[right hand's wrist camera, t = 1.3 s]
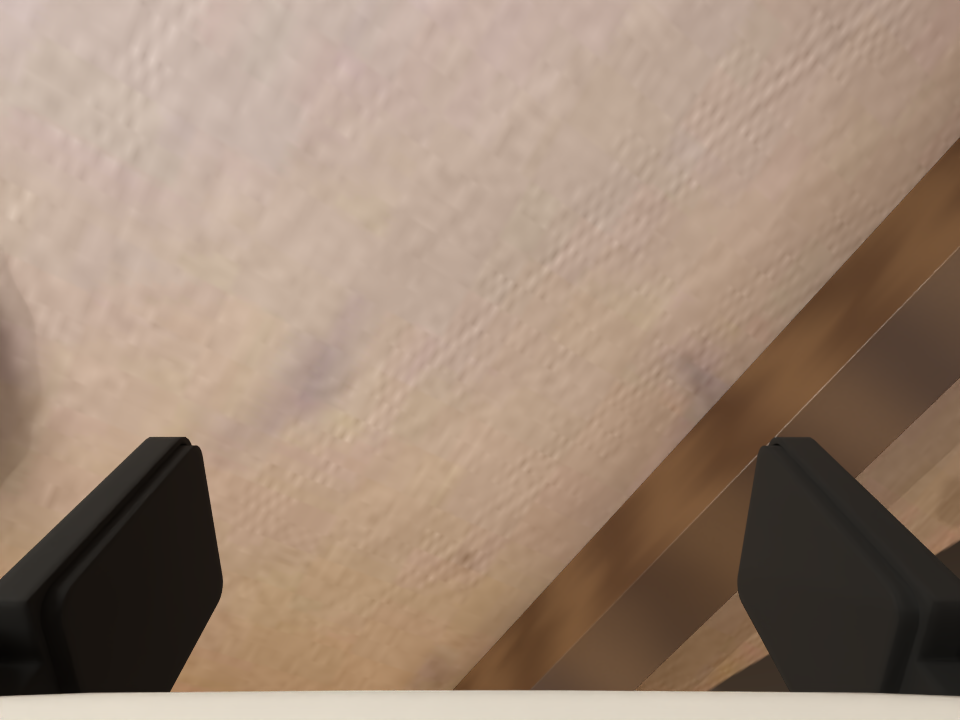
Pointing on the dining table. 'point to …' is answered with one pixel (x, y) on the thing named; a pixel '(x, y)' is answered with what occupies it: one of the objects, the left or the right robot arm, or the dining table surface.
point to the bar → (753, 456)
